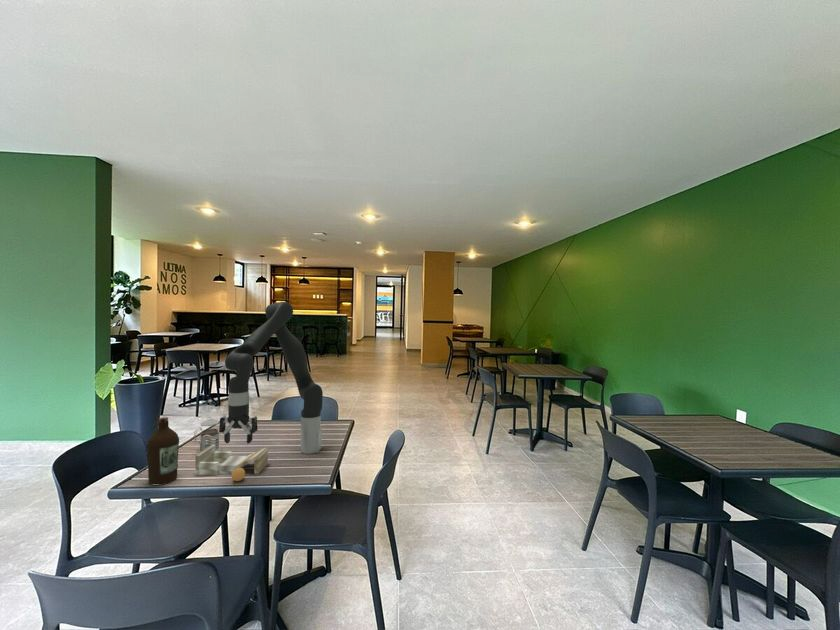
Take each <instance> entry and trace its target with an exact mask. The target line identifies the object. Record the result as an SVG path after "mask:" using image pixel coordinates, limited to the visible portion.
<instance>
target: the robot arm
mask: <svg viewBox="0 0 840 630" xmlns="http://www.w3.org/2000/svg"><path fill="white" fill-rule="evenodd" d="M293 308H294V307H293V306H292V305H291V303H290V302H287V301H279V302H275V303H270V304H268V305H267V306H266V308H265V310H264V311H265V318H266V319H267V320H266V322H264V323H263V324H261V326H260V325H259V327H257V328H256V329H255V330H254V331H253V332H252V333H251V334H250V335H249V336H248V337H247V338H246V339H245V340H244V342H243V343H242V344H241V345H238V346H237V347H236V348H235V349H233V350H231V351H230V352H229V354H228V355H226V358H225V360H224V365H225V367H226V368H227V370H229V371H235V372H236V371H238V372H237V375H236V376H232V377H230V379H229V383H228V387H229V388H228V400H227V404H228V405H227V406H228V407H227V411H228V412H227V414H228V416H225V415H223V416H221V417H220V418H219V427H218V432H219V434H220V433H221V434H223V436H224V437H223V439H224V442H225V444H229V443H230V441H231V432H230V431H231V430H233V429H243V431H244V432H246V444H251V443H252V441H253V438H254V437H253V435H254V433H256V432H258V417H257V416H253V417H251V416H249V414H250V392H249V385H250V378H251V374H252V371H253V367H254V359H253V356H256V355H257V354H258V353H259V352H260V351H261V349H262V348H263V347H264V346H265V344H266V343H267V342H268V341H269V340H270V339H271V337H272V336H273V335H275V336H276V338H277V341H278V343H279V346H280V347H281V348H280V349H282V350H281V351H282V353H283V355H284V358H285V360H286V363H287V365H288V367H289V369H290V371H291V373H292V375H293V377H294V379H295V383H296V387H297V390H298V393H299V396H300V398H301V399H302V400H303V408H302V410H301V411H300V452H301V453H302V454H306V455H309V454H310V455H311V454H315V453H318V454H319V452H320V451H321V450H322V434H323V433H322V431H323V430H322V428H321V420H322V419H321V415H322V414H321V413H322V409H323V402H324V401H323V397H324V394H323V393H324V392H323V388H322V387H321V386H320V385H319V384H317V383H315V382H314V380H313V377H312V376H311V375H310V374H311V373H310V372H309V367H308V365H309V364H308V358H307V354H306V350H305V348H304V346H303V344H302V342H301V341H300V340H299V339H298V338H297V337H296V336H295V335H294V334H292V332H291V331H290V330H289V329H288V327H287V325H286V323H287V322H289V320H290V319H291V318H292V317H293V315H294V309H293ZM249 422H250V423H249ZM226 423H228V426H227V424H226ZM250 424H251V425H250ZM226 426H227V427H226Z"/></svg>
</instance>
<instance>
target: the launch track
mask: <svg viewBox="0 0 840 630" xmlns="http://www.w3.org/2000/svg"><path fill="white" fill-rule="evenodd" d="M210 445H211V446H210V447H208V448H207V449H205V450H204V451H202V452H201V453H199V454H198V453H197V454H196V455H195V458H194V459H195V460H194V461H195V466H194V467H195V468H194V469H195V472H194V473H195V476H218V475H232V472H233V471H234V470H235V469H236V468H242V469H244V467H246V466H247V465H248V464H250V463H253V462H254V463H253V465H254V470H253V471H254V474H253V475H259V474H260V473H261V472H262V471H263V470H264V469H265V467H267V466H268V464H269V462H268V461H269V460H268V459H269V448H268V447H264V448H262V449H260V450H258V451H255V452H252V453H251V454H249V455H233V451H219V452H216V451H215V445H216V444H210Z"/></svg>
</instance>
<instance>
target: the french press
mask: <svg viewBox="0 0 840 630" xmlns="http://www.w3.org/2000/svg"><path fill="white" fill-rule="evenodd" d="M207 403H209V404H211V403H213V400H212V399H208V400H207ZM219 424H220V420H219V419H215V418H209V419H206V420H204V421H202V422H200V426H201V427H200V426H199V427H198V428H197V429H196V430H194V432H193V439H194V441H195V442H196V443H198V444H199V451H198V452H197V455H198V454H199V453H201V452H202V451H204V450H205V449H207V448H208V447H210V446H211V445H215V451H216V452H221V450H222V448H221V447H220V432H219V428H218V429H217V428H209V429H208V428H207V429H204V430H203V428H202V427H211V426H216V425H219ZM199 430H200V431H201V432H200V433H201V434H200V441H198V439H196V437H197V436H196V435H197V434H198V431H199Z"/></svg>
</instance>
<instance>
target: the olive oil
mask: <svg viewBox="0 0 840 630" xmlns="http://www.w3.org/2000/svg"><path fill="white" fill-rule="evenodd" d="M157 423H158V425H157V426H158V427H157V429H156V430H155V431H154V432H153V433H152V434H151V435H150V436H149V437H148V440H147V442H146V452H147V455H146V456H147V469H148V470H147V473H148V478H147V479H148V484H149V485H150V484H163V485H165V484H164V483H167V484H169V483H168V482H170V483H172V482H174V481H175V480H177V479H178V468H179V463H178V461H179V447H180V437H179V435H178V433H177V432H176V431H174V430H173V429H172V428H170V426H169V417H167V416H165V417H160V418H158V422H157ZM173 480H174V481H173ZM171 481H172V482H171Z"/></svg>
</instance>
